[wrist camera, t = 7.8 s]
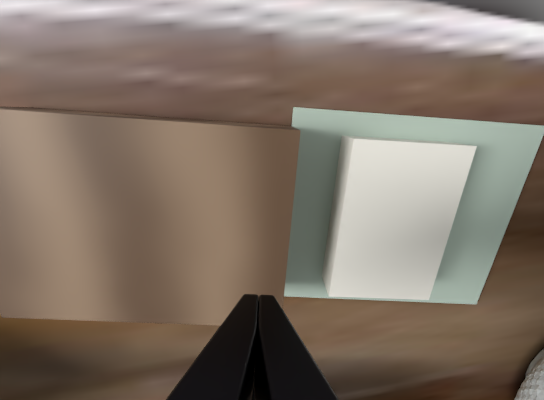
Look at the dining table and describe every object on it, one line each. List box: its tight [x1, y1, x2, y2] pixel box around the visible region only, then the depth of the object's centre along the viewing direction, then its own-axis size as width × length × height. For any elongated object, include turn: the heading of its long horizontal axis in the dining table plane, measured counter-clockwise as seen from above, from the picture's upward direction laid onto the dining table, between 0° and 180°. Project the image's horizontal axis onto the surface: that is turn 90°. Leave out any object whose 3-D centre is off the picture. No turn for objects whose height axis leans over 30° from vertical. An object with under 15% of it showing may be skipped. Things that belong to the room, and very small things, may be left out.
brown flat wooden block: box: [0, 107, 301, 325], centre depth 13 cm, size 14×10×4 cm
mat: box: [284, 107, 544, 304], centre depth 16 cm, size 14×12×1 cm
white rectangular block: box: [322, 135, 477, 300], centre depth 14 cm, size 6×9×2 cm, turn 177°
